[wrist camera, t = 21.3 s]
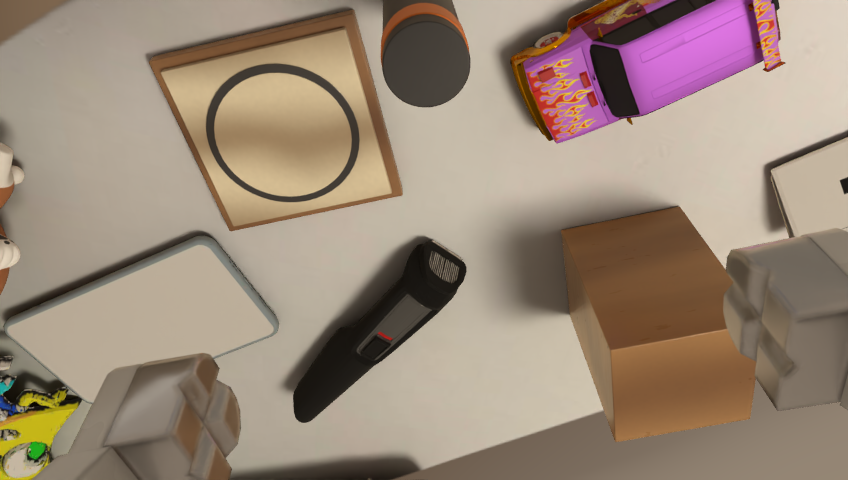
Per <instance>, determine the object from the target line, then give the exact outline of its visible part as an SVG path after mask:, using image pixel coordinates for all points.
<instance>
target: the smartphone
mask: <svg viewBox="0 0 848 480" xmlns="http://www.w3.org/2000/svg"><path fill="white" fill-rule="evenodd" d="M278 328H279V321H278V319H277V318H276V316H275V315H274V314H273V313H272V311H271V310H270V309H269V308H268V306H267V305H266V304H265V303H264V301H263V300H262V299H261V298H260V296H259V295H258V294H257V293H256V291H255V290H254V289H253V288H252V286H251V285H250V284H249V282H248V281H247V280H246V279H245V277H244V276H243V275H242V274H241V272H240V271H239V270H238V269H237V267H236V266H235V265H234V264H233V262H232V261H231V260H230V259H229V257H228V256H227V255H226V254H225V252H224V251H223V250H222V248H221V247H220V246H219V245H218V243H217V242H216V241H215V240H214V239H212V238H210V237H208V236H196V237H194V238H192V239H189V240H187V241H185V242H182V243H180V244H178V245H176V246H173V247H171V248H169V249H166V250H164V251H162V252H159V253H157V254H155V255H153V256H150V257H148V258H146V259H143V260H141V261H139V262H136V263H134V264H132V265H130V266H127V267H125V268H123V269H120V270H118V271H116V272H113V273H111V274H109V275H107V276H104V277H102V278H100V279H97V280H95V281H93V282H90V283H88V284H86V285H84V286H81V287H79V288H77V289H74V290H72V291H70V292H67V293H65V294H63V295H61V296H58V297H56V298H54V299H51V300H49V301H47V302H44V303H42V304H40V305H38V306H35V307H33V308H31V309H28V310H26V311H24V312H21V313H19V314H17V315H15V316H12V317H10V318H9V319H8V320H7V321H6V322H5V324H4V331H5V333H6V335H7V336H8V337H10V338H11V339H12V340H13V341H14V342H16V343H17V344H18V345H19V346H20V347H21V348H23V349H24V350H25V351H26V352H27V353H28V354H30V355H31V356H32V357H33V358H34V359H35V360H37V361H38V362H39V363H40V364H41V365H42V366H44V367H45V368H46V369H47V370H48V371H49V372H51V373H52V374H53V375H54V376H55V377H56V378H58V379H59V380H60V381H61V382H62V383H63V384H65V385H66V386H67V387H68V388H69V389H71V390H72V391H73V392H74V393H75V394H76V395H78V396H79V397H80V398H81V399H82V400H83V401H85V402H87V403H90V404H93V402H94V400H95V398H96V396H97V394H98V392H99V390H100V388H101V386H102V384H103V382H104V380H105V378H106V376H107V374H108V373H110V372H111V371H112V370H114V369H115V368H119V367H125V366H131V365H137V364H144V363H145V362H150V361H156V360H162V359H168V358H174V357H180V356H186V355H192V354H198V353H206V354H210V355H211V356H212V358H213V359H215V358H217V357H220V356H223V355H225V354H228V353H230V352H233V351H235V350H238V349H241V348H243V347H246V346H248V345H251V344H253V343H256V342H258V341H261V340H264V339H266V338H269V337H271V336H273V335H275V334H276V333H277V331H278Z"/></svg>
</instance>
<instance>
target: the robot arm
mask: <svg viewBox="0 0 848 480" xmlns="http://www.w3.org/2000/svg"><path fill="white" fill-rule="evenodd" d="M726 272H727V274H728V275H729V277H730V278H731V279H732V281H733V282H734V283H733V284H732V285H731V286H730V287H729V288H728V290H727V291H726V292H725V293H724V300H723V313H724V318H725V323H726V327H727V330H728V332H729V335H730V337H731V339H732V341H733V343H734V345H735V346H736V348H737V349H738V351H739V353H740V354H742V355H744V356H746V357H748V358H750V359H752V360H754V361H756V367H755V375H754V376H755V377H756V379H757V381H758V382H759V383H760V385H761V387H762V388H763V390H764V391H765V393H766V394H767V396H768V397H769V399H770V400H771V402H772V403H773V405H774V406H775V408H776V409H777V411H782V410H789V409H795V408H803V407H809V406H816V405H822V404H830V403H837V402H841V403H840V405H841V406H842V407H844V408H845V409H847V410H848V232H847V231H845V230H842V229H839V228H833V229H828V230H824V231H819V232H814V233H809V234H805V235H801V236H800V237H793V238H788V239H783V240H778V241H773V242H768V243H763V244H758V245H753V246H748V247H743V248H738V249H733V250H731V251H730V253H729V255H728V257H727V264H726ZM218 372H219V367H218V365H217V364H216V362H215V361H214V359H213V358H212V356H211V355H210V354H206V353H198V354H192V355H186V356H180V357H174V358H168V359H162V360H156V361H150V362H145V363H144V364H137V365H131V366H125V367H119V368H115V369H114V370H112V371H111V372H110V373H108V374H107V376H106V378H105V380H104V382H103V384H102V386H101V388H100V390H99V392H98V394H97V396H96V398H95V400H94V402H93V404H92V406H91V408H90V410H89V412H88V414H87V416H86V418H85V420H84V422H83V424H82V426H81V428H80V430H79V432H78V434H77V436H76V438H75V440H74V442H73V444H72V446H71V448H70V450H69V452H68V454H66V455H60V456H57V457H56V458H55V459H54V460H53V461H52V462H51V463H50V464H48V465H47V466H46V467H45V468H44V469H43V470H42V471H41V472H39V473H38V474H37V475H36V476H35V477H34V478H33V479H32V480H229V479H230V475H231V470H232V468H231V467H230V465H229V463H228V462H227V460H226V457H227V456H228V455H229V453H230V452H231V451H232V450H233V449H234V448H235V447H236V446H237V444H238V440H239V435H240V430H241V420H240V409H239V405H238V402H237V399H236V396H235V395H234V393H233V391H232V389H231V387H229V386H227V385H225V384H223V383H222V382H220V381H218V380H216V379H217V375H218Z"/></svg>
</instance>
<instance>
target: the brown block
mask: <svg viewBox="0 0 848 480" xmlns="http://www.w3.org/2000/svg"><path fill="white" fill-rule="evenodd" d="M561 234H562V243H563V253H564V263H565V272H566V282H567V292H568V301H569V311H570V317H571V320H572V322H573V325H574V328H575V331H576V334H577V336H578V339H579V342H580V345H581V348H582V350H583V353H584V356H585V359H586V361H587V364H588V367H589V370H590V373H591V375H592V378H593V381H594V384H595V387H596V389H597V392H598V395H599V398H600V401H601V403H602V406H603V409H604V412H605V415H606V417H607V420H608V423H609V426H610V428H611V431H612V434H613V437H614V440H615V442H619V441H624V440H630V439H636V438H642V437H648V436H654V435H659V434H665V433H671V432H677V431H683V430H689V429H694V428H700V427H706V426H712V425H717V424H723V423H729V422H734V421H741V420H746V419H750V415H751V408H752V400H753V393H754V387H755V380H756V377H755V376H754V375H755V367H756V361H754V360H752V359H750V358H748V357H746V356H744V355H742V354H740V353H739V351H738V349H737V348H736V346H735V345H734V343H733V341H732V339H731V337H730V335H729V332H728V330H727V327H726V323H725V318H724V313H723V300H724V293H725V292H726V291H727V290H728V288H729V287H730V286H731V285H732V284H733V283H734V282H733V281H732V279H731V278H730V277H729V275H728V274H727V272H726V270H725V268H724V267H723V266H722V264H721V263H720V261H719V260H718V259H717V257H716V256H715V255H714V253H713V252H712V250H711V249H710V248H709V246H708V245H707V244H706V242H705V241H704V239H703V238H702V237H701V235H700V234H699V233H698V231H697V230H696V228H695V227H694V226H693V224H692V223H691V222H690V220H689V219H688V217H687V216H686V215H685V213H684V212H683V211H682V209H681V208H680V207H674V208H669V209H664V210H659V211H654V212H649V213H644V214H639V215H634V216H630V217H625V218H620V219H615V220H610V221H605V222H600V223H595V224H590V225H585V226H580V227H575V228H570V229H565V230H561Z"/></svg>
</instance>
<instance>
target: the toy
mask: <svg viewBox="0 0 848 480" xmlns="http://www.w3.org/2000/svg"><path fill="white" fill-rule="evenodd" d="M13 357H14V356H3V357H0V370H7V369H9V368H10V365H11V363H12V360H13ZM16 378H17V376H12V375H4V376H3V377H2V376H0V401H1V402H0V469H1V470H0V480H32V479H33V478H34V477H35V476H36V475H37V474H38V473H39V472H41V471H42V470H43V469H44V468H45V467H46V466H47V465H48V464H50V463H51V462H52V457H51V453H50V452H51V446H52V441H53V439H54V437H55V435H56V434H57V432H58V430H59V429H60V428H61V427H62V425H63V424H64V422H65V421H66V420H67V419H68V417H69V416H70V415H71V414H72V413H73V412H74V411H75V410H76V409H77V407H78V406H79V404H80V402H81V401H82V399H81V398H79V399H73V400H66V401H62V400H64V399H65V397H66V394H67V392H68V389H67V387H62V388H59V389H55V390H54V391H53V392H52V393H51V394H48V393H46V392H42V391H38V390H34V389H27V390H23V391H22V393H21V394H20V395H19V396H18V397H17V399H16V401H15V402H13V403H10V402H9V401H8V400H7V399H6V398H5V396H4V395H3V393H4V392H5V391H8V390H9V389H10V388H11V386H12V385H13V383H14V381H15V380H16ZM25 399H26V400H25ZM45 401H46V402H45ZM32 402H37V403H38V404H39V405H40V406H37V407H32V408H29V406H30V404H31V403H32ZM15 409H16V410H17V411H16V410H15ZM44 413H46V414H44ZM2 415H3V416H2ZM7 420H8V421H7ZM5 423H6V424H5ZM12 425H14V426H12ZM52 437H53V438H52ZM46 442H47V443H46ZM40 444H41V445H40ZM23 449H24V450H23ZM24 453H26V454H24ZM28 453H29V454H28ZM27 454H28V455H27ZM32 455H33V456H32ZM11 456H12V457H11ZM35 456H36V457H35ZM34 458H35V459H34ZM7 460H8V462H7ZM23 460H24V461H25V462H23ZM6 464H7V465H6ZM26 465H28V466H26ZM5 467H6V468H5ZM27 467H28V468H27ZM6 476H7V477H6ZM15 476H16V477H15ZM9 478H10V479H9Z"/></svg>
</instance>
